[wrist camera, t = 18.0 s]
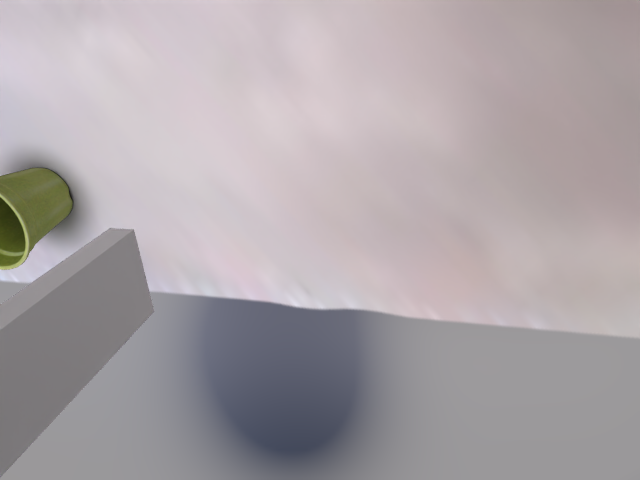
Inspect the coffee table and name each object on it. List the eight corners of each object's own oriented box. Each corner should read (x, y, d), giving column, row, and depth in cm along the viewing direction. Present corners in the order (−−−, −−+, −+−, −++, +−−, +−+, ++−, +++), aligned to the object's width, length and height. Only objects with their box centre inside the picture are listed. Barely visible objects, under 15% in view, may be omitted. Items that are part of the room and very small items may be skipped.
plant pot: (68, 247, 57) (10, 287, 49) (-1, 194, 55) (-71, 226, 48) (100, 193, 52) (42, 227, 45) (26, 133, 51) (-47, 158, 43)
